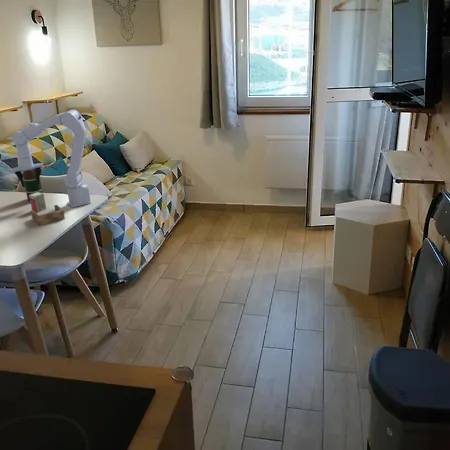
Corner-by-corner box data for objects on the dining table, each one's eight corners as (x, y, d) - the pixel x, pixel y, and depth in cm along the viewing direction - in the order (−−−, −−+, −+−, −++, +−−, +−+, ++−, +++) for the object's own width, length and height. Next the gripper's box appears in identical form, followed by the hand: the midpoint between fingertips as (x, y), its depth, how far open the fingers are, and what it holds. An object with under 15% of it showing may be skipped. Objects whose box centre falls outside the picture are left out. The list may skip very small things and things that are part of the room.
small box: (40, 207, 229) (37, 191, 226) (46, 208, 226) (43, 193, 223) (31, 210, 225) (28, 194, 222) (37, 212, 222) (34, 196, 219)
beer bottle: (24, 200, 240) (14, 153, 231) (37, 195, 246) (28, 149, 237) (33, 202, 236) (23, 154, 227) (47, 197, 242) (38, 151, 233)
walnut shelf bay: (58, 213, 220) (56, 204, 219) (64, 218, 213) (63, 210, 211) (32, 219, 214) (30, 210, 213) (38, 225, 207) (36, 216, 205)
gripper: (38, 152, 229) (44, 180, 234) (6, 158, 221) (12, 186, 227) (42, 155, 223) (48, 183, 229) (10, 161, 216) (16, 189, 221)
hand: (30, 185), depth 227 cm, fingers open, 6 cm apart
